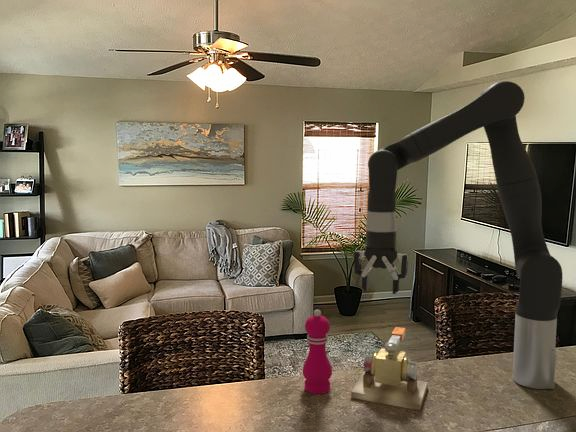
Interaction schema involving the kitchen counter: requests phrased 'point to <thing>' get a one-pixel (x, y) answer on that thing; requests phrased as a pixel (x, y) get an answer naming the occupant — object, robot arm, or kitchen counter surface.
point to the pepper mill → (317, 355)
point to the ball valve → (390, 367)
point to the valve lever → (395, 339)
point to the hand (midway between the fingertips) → (380, 291)
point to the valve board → (390, 392)
